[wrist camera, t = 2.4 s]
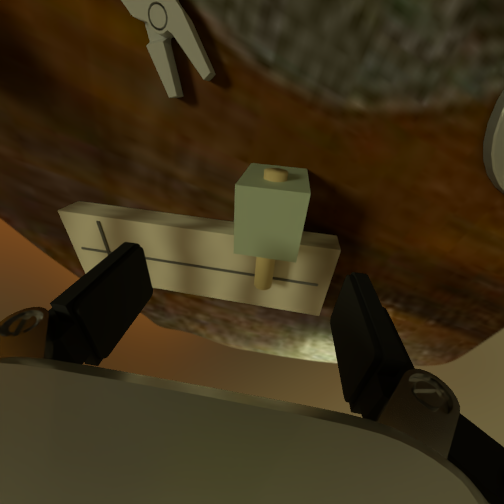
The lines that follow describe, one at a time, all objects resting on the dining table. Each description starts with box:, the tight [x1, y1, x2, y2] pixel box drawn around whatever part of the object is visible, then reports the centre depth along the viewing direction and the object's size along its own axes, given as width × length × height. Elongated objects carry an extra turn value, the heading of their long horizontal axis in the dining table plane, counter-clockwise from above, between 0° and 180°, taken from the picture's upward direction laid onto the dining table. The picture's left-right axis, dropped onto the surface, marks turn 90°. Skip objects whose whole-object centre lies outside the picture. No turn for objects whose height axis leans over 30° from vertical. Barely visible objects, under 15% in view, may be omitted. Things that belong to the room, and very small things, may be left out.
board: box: [58, 201, 341, 316], centre depth 23 cm, size 26×8×3 cm, turn 86°
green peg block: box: [234, 163, 311, 290], centre depth 18 cm, size 4×10×6 cm, turn 176°
